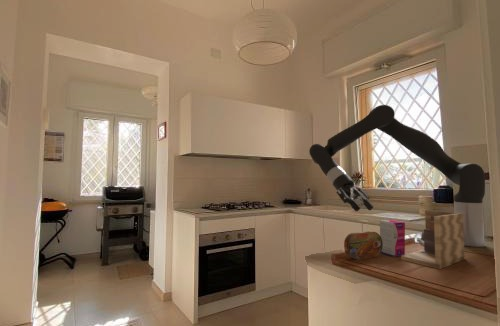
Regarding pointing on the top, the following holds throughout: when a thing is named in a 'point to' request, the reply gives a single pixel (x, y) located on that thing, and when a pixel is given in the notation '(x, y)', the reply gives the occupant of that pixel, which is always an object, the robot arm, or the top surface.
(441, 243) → the wooden bookend
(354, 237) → the tin
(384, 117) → the robot arm
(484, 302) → the top surface
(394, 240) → the supplement box
